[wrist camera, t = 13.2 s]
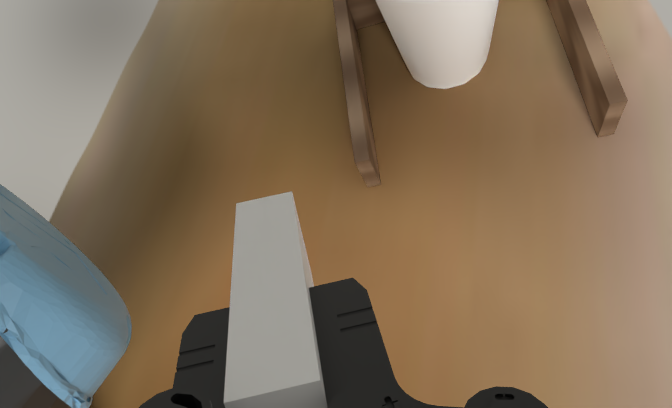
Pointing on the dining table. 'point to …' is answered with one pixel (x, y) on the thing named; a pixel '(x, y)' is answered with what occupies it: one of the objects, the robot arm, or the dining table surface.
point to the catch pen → (578, 40)
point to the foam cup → (441, 37)
